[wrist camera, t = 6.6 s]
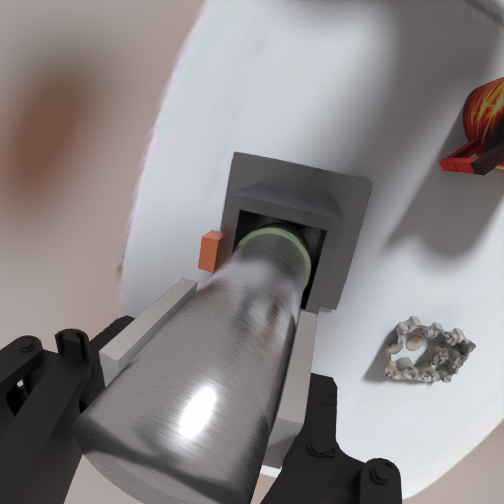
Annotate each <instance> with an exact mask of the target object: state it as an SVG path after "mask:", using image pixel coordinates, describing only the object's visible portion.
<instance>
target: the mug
mask: <svg viewBox="0 0 504 504" xmlns="http://www.w3.org/2000/svg"><path fill="white" fill-rule="evenodd" d="M463 123H464V129H465V133H466V136H467V139H468V141H469V142H468V143H466V144H465V145H464V146H462V147H461V148H459V149H458V150H456V151H455V152H454V153H452V154H451V155H449V156H448V157H446V158H445V159H443V160H441V161H440V162H439V163H440V165H441V167H442V169H443V170H444V171H452V172H464V173H472V174H478V175H485V174H487V173H488V172H490V171H491V170H493V169H499V170H504V77H502V78H499V79H497V80H495V81H492V82H490V83H487V84H485V85H483V86H480V87H478V88H476V89H474V90H473V91H472V92H471V93H470V94H469V96H468V98H467V99H466V102H465V105H464V111H463ZM474 153H475V154H476V155H477V156H478V157H479V158H469V157H470V156H471V155H473V154H474Z"/></svg>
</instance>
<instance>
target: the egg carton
mask: <svg viewBox="0 0 504 504" xmlns="http://www.w3.org/2000/svg"><path fill="white" fill-rule="evenodd" d="M416 328H420V330H421V332H422V334H423V336H425V337H429V338H430V339H431V340H432V339H433V338H435V337H437V335H438V333H439V332H441V334H442V335H443V336H444V338H445V341H446V342H447V343H448V344H449V345H452V346H454V345H456V344H457V343H460V342H461V343H460V344H459V345H456V346H454V347H452V348H451V349H450V350H449V351H447V349H446V347H445V346H444V344H443V342H442V341H435V342H433V343H431V344H430V345H429V347H428V353H429V356H430V358H431V361H432V365H440V364H442V363H443V362H445V361H446V360H448V358H449V360H450V362H449V364H448V365H446V366H442V367H440V368H439V369H438V370H433V367H432V365H431V363H429V362H422V363H421V364H419V365H418V366H413V365H412V362H411V360H410V359H409V358H408V357H402V358H400V359H398V360H397V361H396V362H393V361H391V356H390V355H391V354H397V353H398V352H399V351H401V349H402V348H403V340H402V338H401V334H403V335H405V334H409V333H411V332H412V331H413V330H414V329H416ZM396 331H397V335H398V337H399V338H398V342H397V343H393V344H392V345H388V346H387V347H386V349H385V351H384V352H385V356H386V359H387V362H388V363H389V364H388V366H387V367H386V370H385V372H384V374H385V375H386V376H387V377H391V378H392V379H398V380H405V379H406V378H407V379H410V380H413V381H414V380H420V381H424V382H433V381H440V380H442V381H443V382H446V383H447V382H450V381H451V377H452V376H453V374H457V373H458V370H459V368H460V367H461V366H462V365H463V363H464V362H465V361H466V360H467V359H468V355H469V353H470V352H472V351H473V349H474V348H475V347H476V345H475V344H474V343H472V342H471V341H470V340H468V339H466V337H465V335H464V334H463V332H462V331H461V329H459V328H455V329H454V330H453V331H451V332H446V331H444V329H443V328H442V326H441V324H440V323H437V322H434V323H433V324H432V325H431V326H430V327H428V326H422V325H421V323H420V320H419V318H418V317H415V316H411V317H410V318H409V319H408V320H407V321H405V322H400V323H399V324H398V325H397V327H396ZM422 343H423V340H422V338H421V337H420V336H417V335H416V336H412V337H410V338H409V339H408V340H407V342H406V347H407V349H408V350H410V351H414V350H417V349H419V348H420V347H421V346H422Z"/></svg>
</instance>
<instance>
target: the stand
mask: <svg viewBox="0 0 504 504" xmlns="http://www.w3.org/2000/svg"><path fill="white" fill-rule="evenodd" d="M371 186H372V182H369V181H366V180H362V179H358V178H355V177H351V176H347V175H343V174H339V173H335V172H331V171H327V170H323V169H319V168H314V167H310V166H306V165H301V164H296V163H292V162H287V161H282V160H277V159H272V158H267V157H262V156H257V155H251V154H246V153H240V152H234V155H233V161H232V167H231V173H230V178H229V184H228V190H227V196H226V202H225V208H224V215H223V221H222V227H221V232H218V231H214V230H212V231H210V232H209V233H207V234H206V235H204V236H202V242H201V250H200V258H199V266H198V268H199V269H203V270H206V271H210V272H213V273H214V272H216V271H217V270H218V269H219V268H220V267H221V266H222V265H223V264H224V263H225V262H226V261H227V260H228V259H229V258H230V257H231V256H232V255H233V253H234V250H235V248H236V246H237V245H238V244H239V242H240V241H241V240H242V239H243V238H244V237H245V236H246V235H248V234H249V233H250V232H251V231H253V230H255V229H257V228H259V227H262V226H263V225H266V224H269V223H274V222H280V223H286V224H289V225H291V226H293V227H295V228H296V229H297V230H299V231H300V232H301V233H302V235H303V236H304V237H305V239H306V241H307V243H308V247H309V252H310V256H311V270H310V276H309V280H308V283H307V285H306V287H305V289H304V290H303V294H302V299H301V304H300V309H299V314H298V318H299V315H300V311H305V312H309V313H313V314H318V311H319V308H320V306H322V307H326V308H331V309H335V310H336V308H337V305H338V302H339V299H340V296H341V293H342V290H343V287H344V284H345V281H346V278H347V274H348V271H349V268H350V265H351V261H352V258H353V254H354V251H355V247H356V244H357V240H358V237H359V233H360V229H361V226H362V222H363V218H364V214H365V210H366V206H367V202H368V198H369V194H370V190H371Z"/></svg>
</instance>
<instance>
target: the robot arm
mask: <svg viewBox="0 0 504 504" xmlns="http://www.w3.org/2000/svg"><path fill="white" fill-rule="evenodd" d="M196 291H197V282H196V281H192V280H189V279H185V278H182V279H181V280H180V281H179V282H178V283H177V284H175V285H174V286H173V287H172V288H171V289H170V290H168V291H167V292H166V293H165V294H164V295H163V296H161V297H160V298H159V299H158V300H157V301H156V302H154V303H153V304H152V305H151V306H150V307H149V308H148V309H146V310H145V311H144V312H143V313H142V314H141V315H139V316H138V317H137V318H136V319H135V318H132V317H130V316H128V315H127V316H124V317H122V318H119V319H116V320H115V321H114V322H113V323H112V324H110V325H109V327H107V328H105V329H104V330H103V332H101V333H99V334H98V335H97V336H96V337H95V338H93V339H92V340H91V341H90V342H89V338H88V336H87V334H86V333H85V332H83V331H81V330H77V329H65V330H62V331H59V332H58V333H57V334H56V335H55V339H56V344H57V348H58V353H55V352H51V351H48V350H44V349H43V348H42V343H41V341H40V340H39V339H38V338H36V337H34V336H28V335H27V336H22V337H19V338H17V339H16V340H14V341H13V342H11V343H10V344H8V345H7V346H6V347H4V348H3V349H1V350H0V504H64V501H65V498H66V495H67V493H68V490H69V487H70V485H71V482H72V479H73V477H74V474H75V471H76V469H77V467H78V464H79V462H80V459H81V457H82V454H83V453H82V451H81V449H80V448H79V446H78V444H77V442H76V440H75V438H74V435H73V423H74V421H75V420H76V419H77V418H78V417H79V416H80V414H81V413H82V412H83V411H84V410H85V409H86V408H87V407H88V406H89V405H90V404H91V403H92V402H93V401H94V399H95V398H96V397H97V396H98V395H99V394H100V393H101V392H102V391H103V390H104V389H105V388H106V387H107V386H108V384H109V383H110V382H111V381H112V380H113V379H114V378H115V377H116V376H117V375H118V374H119V373H120V372H121V371H122V370H123V368H124V367H125V366H126V365H127V364H128V363H129V362H130V361H131V360H132V359H133V358H134V357H135V356H136V355H137V354H138V353H139V352H140V350H141V349H142V348H143V347H144V346H145V345H146V344H147V343H148V342H149V341H150V340H151V339H152V338H153V337H154V336H155V335H156V334H157V333H158V332H159V331H160V329H161V328H162V327H163V326H164V325H165V324H166V323H167V322H168V321H169V320H170V319H171V318H172V317H173V316H174V315H175V314H176V313H177V312H178V311H179V310H180V309H181V308H182V306H183V305H184V304H185V303H186V302H187V301H188V300H189V299H190V298H191V297H192V296H193V295H194V294H195V293H196ZM316 319H317V314H313V313H309V312H305V311H300V315H299V318H298V322H297V325H296V328H295V333H294V338H293V342H292V347H291V351H290V356H289V360H288V365H287V369H286V373H285V378H284V382H283V386H282V390H281V394H280V398H279V402H278V406H277V410H276V414H275V418H274V422H273V426H272V429H271V433H270V438H269V441H268V445H267V449H266V452H265V456H264V460H263V463H262V465H265V466H269V467H274V468H278V469H280V468H281V466H282V469H281V472H280V474H279V475H278V477H277V478H276V480H275V482H274V483H273V485H272V486H271V488H270V489H269V491H268V492H267V494H266V496H265V497H264V499H263V500H262V502H261V503H260V504H402V491H401V476H400V472H399V469H398V468H397V467H396V465H395V464H394V463H392V462H391V461H389V460H387V459H383V458H373V459H371V460H369V461H367V462H366V463H364V462H361V461H359V460H357V459H354V458H352V457H350V456H348V455H346V454H345V453H344V452H343V451H342V450H341V449H340V448H339V445H338V443H337V442H336V417H337V407H336V406H337V386H336V384H335V382H334V380H333V378H332V377H328V376H323V375H319V374H314V373H311V367H312V358H313V349H314V340H315V330H316ZM20 380H22V382H23V385H22V386H20V387H18V386H17V383H18V382H19V381H20Z"/></svg>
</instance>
